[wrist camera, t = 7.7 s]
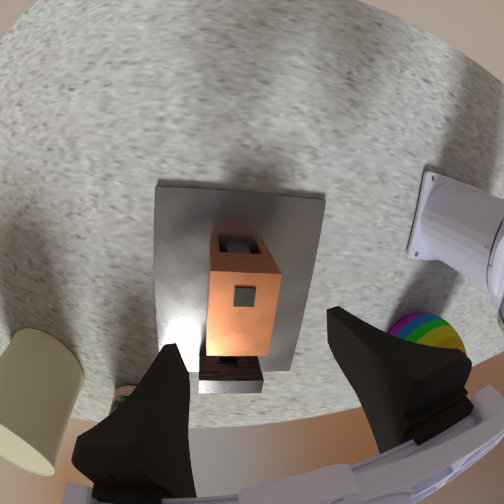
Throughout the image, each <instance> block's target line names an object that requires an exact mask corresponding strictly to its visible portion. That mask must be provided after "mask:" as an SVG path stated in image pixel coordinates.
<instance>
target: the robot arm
mask: <svg viewBox="0 0 504 504" xmlns="http://www.w3.org/2000/svg"><path fill="white" fill-rule="evenodd" d="M432 176H433V178H432ZM415 252H416V254H415ZM407 257H409V258H410V259H423V260H439V261H442V262H444V263H445V264H447V265H449V266H450V267H452V268H453V269H455V270H456V271H458V272H460V273H461V274H463V275H464V276H466V277H467V278H469V279H470V280H472V281H473V282H475V283H476V284H478V285H479V286H480V287H482V288H483V289H485V290H486V291H488V292H489V293H490V304H491V305H493V306H494V307H495V308H497V309H498V313H497V321H498V324H499V326H500V329H501V330H502V332H503V333H504V199H502V198H499V197H496V196H493V195H490V194H487V193H484V192H483V190H482V189H479V188H477V187H474V186H471V185H469V184H466V183H463V182H460V181H458V180H455V179H452V178H449V177H446V176H443V175H440V174H437V173H434V172H431V171H425V172H424V175H423V180H422V186H421V192H420V197H419V202H418V207H417V212H416V216H415V221H414V225H413V230H412V234H411V238H410V242H409V246H408V249H407ZM327 334H328V344H329V346H330V348H331V351H332V353H333V355H334V358H335V359H336V361H337V363H338V364H339V366H340V368H341V369H342V371H343V373H344V374H345V376H346V378H347V379H348V381H349V383H350V384H351V386H352V387H353V389H354V391H355V393H356V394H357V396H358V398H359V401H360V403H361V405H362V407H363V410H364V412H365V414H366V417H367V419H368V421H369V424H370V427H371V429H372V432H373V435H374V437H375V440H376V443H377V446H378V449H379V452H380V455H378V456H375V457H373V458H370V459H368V460H365V461H363V462H360V463H358V464H355V465H352V466H349V465H342V464H337V465H332V466H328V467H324V468H320V469H317V470H314V471H310V472H306V473H303V474H299V475H295V476H291V477H287V478H283V479H278V480H273V481H268V482H263V483H259V484H255V485H251V486H248V487H246V488H244V489H242V490H241V491H240V492H239V493H238V494H233V495H223V496H213V497H201V498H197V496H196V492H195V487H194V481H193V475H192V468H191V461H190V453H189V440H188V422H189V404H190V380H189V372H188V370H187V367H186V365H185V363H184V360H183V358H182V356H181V353H180V351H179V349H178V346H177V344H176V343H171V344H165V345H164V346H163V347H162V349H161V350H160V352H159V353H158V355H157V357H156V358H155V360H154V362H153V363H152V365H151V366H150V368H149V369H148V371H147V372H146V374H145V375H144V377H143V378H142V380H141V381H140V382H139V384H138V385H137V387H136V388H135V389H134V390H133V392H132V393H131V394H130V395H129V396H128V397H127V398H126V400H125V401H124V402H123V403H122V404H121V405H120V406H119V407H117V408H116V409H115V410H114V411H113V412H112V413H111V414H110V415H109V416H108V417H106V418H105V419H104V420H103V421H101V422H100V423H98V424H97V425H96V426H94V427H93V428H91V429H90V430H88V431H87V432H85V433H83V434H82V435H80V436H78V437H77V440H76V444H75V447H74V451H73V455H72V463H73V465H74V466H75V468H76V469H78V470H79V471H80V472H81V473H82V474H84V475H85V476H86V477H87V478H88V479H90V480H91V481H92V482H94V485H93V488H91V487H88V486H84V485H79V484H73V483H66V488H65V492H64V497H63V502H62V504H414V503H416V502H417V501H419V500H421V499H423V498H424V497H426V496H428V495H429V494H431V493H432V492H434V491H436V490H437V489H439V488H440V487H442V486H443V485H445V484H446V483H448V482H449V481H450V480H452V479H453V478H455V477H456V476H457V475H459V474H460V473H462V472H463V471H464V470H466V469H467V468H468V467H470V466H471V465H472V464H474V463H475V462H476V461H477V460H479V459H480V458H481V457H482V456H484V455H485V454H486V453H488V452H489V451H490V450H491V449H492V448H493V447H495V446H496V445H497V443H498V442H499V441H500V440H501V439H502V437H503V436H504V399H503V398H502V396H501V395H500V394H499V393H498V392H497V391H496V390H495V389H494V387H493V386H492V385H491V384H489V385H487V386H486V387H484V388H483V389H482V390H480V391H479V392H477V393H476V394H475V395H474V396H473V397H472V398H471V399H470V400H469V399H468V398H467V397H466V395H467V394H468V392H467V390H466V389H465V388H464V386H465V383H466V381H467V379H468V377H469V374H470V371H471V368H472V362H471V360H470V359H469V358H468V357H467V356H466V355H465V354H464V353H463V352H462V351H461V350H460V349H454V348H440V347H434V346H428V345H423V344H418V343H415V342H411V341H407V340H404V339H401V338H399V337H396V336H393V335H391V334H388V333H386V332H384V331H382V330H380V329H377V328H375V327H373V326H372V325H370V324H368V323H366V322H364V321H362V320H361V319H359V318H357V317H356V316H354V315H352V314H351V313H349V312H347V311H346V310H344V309H342V308H341V307H339V306H337V307H333V308H330V309H327Z"/></svg>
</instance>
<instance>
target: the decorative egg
mask: <svg viewBox="0 0 504 504" xmlns="http://www.w3.org/2000/svg"><path fill="white" fill-rule="evenodd" d="M389 334H391V335H393V336H396V337H399V338H401V339H404V340H407V341H411V342H415V343H418V344H423V345H428V346H434V347H440V348H454V349H460V350H461V351H462V352H463V353H464V354H465V355H466V350H465V347H464V345H463V342H462V340H461V338H460V336H459V335H458V333H457V332H456V331H455V329H454V328H453V327H452V326H451V325H450V324H449V323H448V322H446V321H445V320H444V319H442V318H440V317H438V316H436V315H433V314H429V313H415V314H411V315H408V316H406V317H404V318H403V319H401V320H400V321H399V322H397V323H396V324H395V325H394V327H393V328H392V329H391V331H390V332H389ZM466 356H467V355H466Z"/></svg>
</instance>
